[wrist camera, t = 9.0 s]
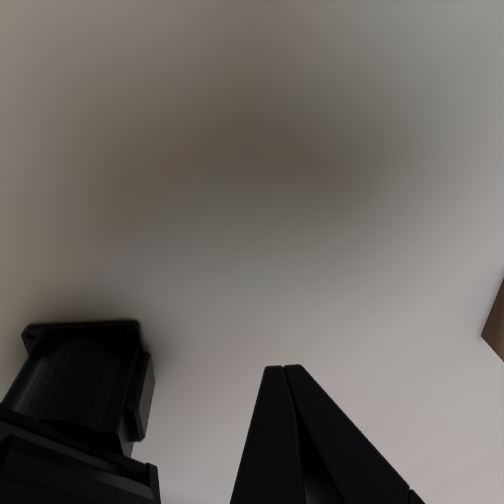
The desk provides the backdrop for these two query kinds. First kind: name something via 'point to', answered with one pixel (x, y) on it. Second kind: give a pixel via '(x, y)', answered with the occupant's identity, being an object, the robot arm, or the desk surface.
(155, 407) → the desk surface
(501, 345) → the joist marks
